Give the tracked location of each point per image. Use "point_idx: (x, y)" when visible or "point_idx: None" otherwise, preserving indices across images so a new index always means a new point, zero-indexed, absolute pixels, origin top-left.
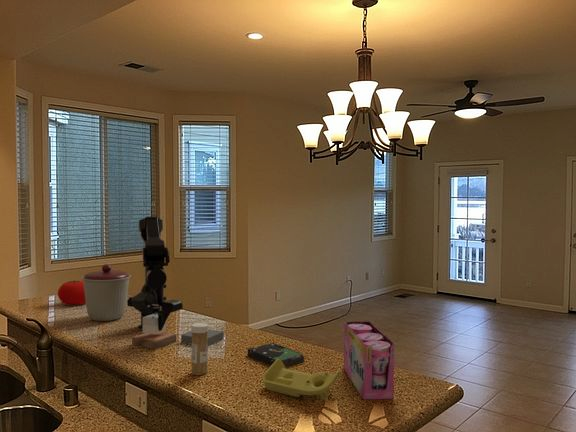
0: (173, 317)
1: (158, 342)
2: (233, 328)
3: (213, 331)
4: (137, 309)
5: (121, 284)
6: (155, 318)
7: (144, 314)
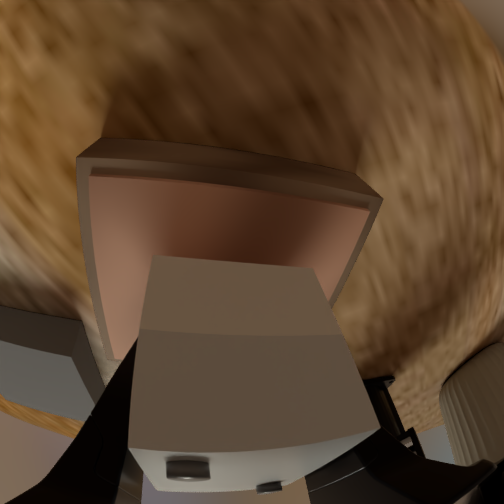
0: None
1: (82, 188)
2: None
3: (25, 400)
4: (475, 472)
5: None
6: (135, 455)
7: (373, 460)
